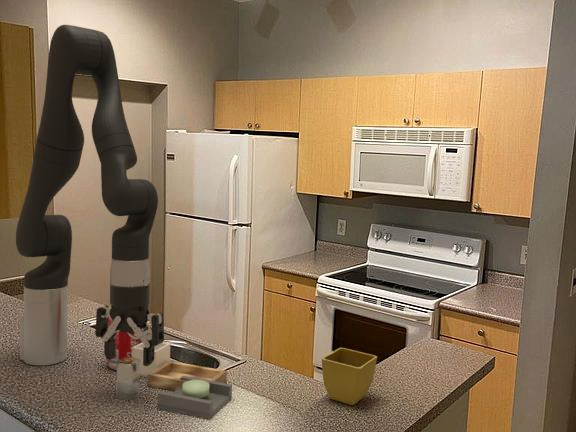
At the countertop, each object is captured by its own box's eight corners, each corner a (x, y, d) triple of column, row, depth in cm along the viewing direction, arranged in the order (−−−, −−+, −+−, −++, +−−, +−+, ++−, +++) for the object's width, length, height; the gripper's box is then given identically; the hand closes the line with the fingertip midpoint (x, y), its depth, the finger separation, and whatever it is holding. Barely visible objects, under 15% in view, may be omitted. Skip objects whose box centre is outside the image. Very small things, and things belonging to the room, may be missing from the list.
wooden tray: (147, 385, 121) (147, 374, 121) (169, 371, 130) (169, 360, 129) (207, 397, 117) (208, 385, 117) (226, 382, 125) (227, 370, 125)
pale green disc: (177, 395, 112) (177, 387, 112) (190, 385, 117) (190, 378, 117) (201, 400, 110) (202, 392, 110) (213, 390, 115) (213, 382, 115)
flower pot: (357, 412, 114) (360, 368, 113) (318, 400, 118) (320, 357, 117) (375, 397, 121) (378, 356, 120) (337, 387, 126) (340, 347, 125)
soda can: (130, 373, 128) (131, 315, 126) (100, 369, 129) (101, 312, 128) (144, 362, 134) (146, 307, 133) (116, 359, 136) (117, 304, 135)
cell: (111, 397, 115) (112, 360, 114) (124, 389, 119) (125, 353, 118) (131, 401, 113) (132, 363, 113) (143, 392, 118) (144, 356, 117)
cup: (131, 374, 127) (131, 347, 126) (146, 365, 133) (147, 340, 132) (155, 378, 125) (156, 351, 125) (169, 369, 131) (170, 343, 130)
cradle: (157, 408, 111) (157, 393, 110) (182, 389, 120) (183, 375, 120) (209, 419, 107) (210, 403, 107) (231, 398, 117) (232, 384, 117)
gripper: (87, 280, 112) (86, 362, 114) (151, 288, 108) (150, 373, 109) (110, 274, 120) (110, 351, 121) (172, 281, 115) (170, 361, 116)
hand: (129, 361), depth 115 cm, fingers open, 8 cm apart
